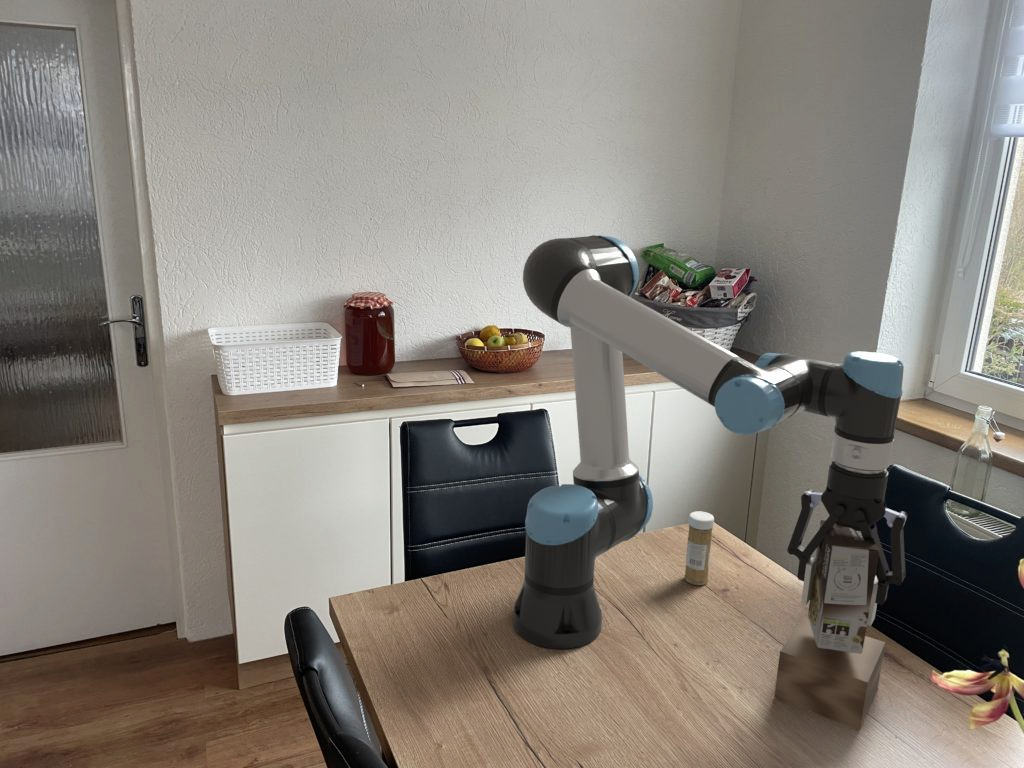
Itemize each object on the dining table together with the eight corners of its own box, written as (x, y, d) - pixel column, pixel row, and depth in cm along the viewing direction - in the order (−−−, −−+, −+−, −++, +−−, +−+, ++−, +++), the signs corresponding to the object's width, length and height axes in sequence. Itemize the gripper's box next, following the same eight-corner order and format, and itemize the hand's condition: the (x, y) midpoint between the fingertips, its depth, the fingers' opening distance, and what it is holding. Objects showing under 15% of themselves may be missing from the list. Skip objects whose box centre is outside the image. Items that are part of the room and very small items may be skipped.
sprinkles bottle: (712, 580, 150) (719, 515, 146) (699, 589, 147) (705, 522, 143) (692, 572, 153) (698, 508, 150) (678, 579, 150) (684, 514, 146)
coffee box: (864, 655, 110) (881, 550, 106) (816, 648, 112) (831, 545, 107) (850, 620, 119) (866, 522, 115) (806, 614, 120) (820, 517, 116)
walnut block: (774, 698, 117) (780, 651, 115) (797, 659, 126) (803, 615, 124) (859, 731, 110) (867, 682, 108) (877, 688, 119) (885, 642, 117)
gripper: (774, 455, 111) (757, 598, 117) (940, 491, 100) (911, 648, 106) (790, 441, 117) (773, 578, 123) (948, 474, 106) (921, 624, 112)
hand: (837, 610), depth 114 cm, fingers closed on coffee box, 8 cm apart
